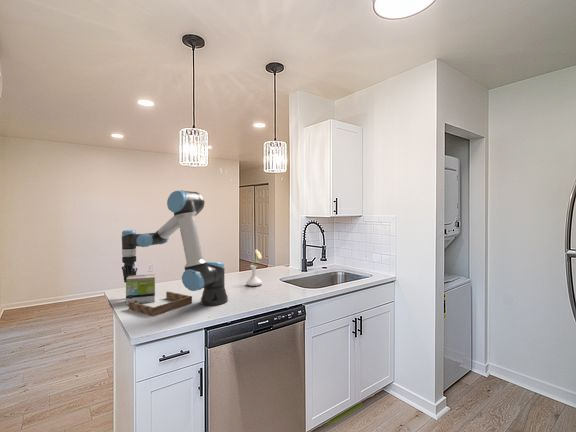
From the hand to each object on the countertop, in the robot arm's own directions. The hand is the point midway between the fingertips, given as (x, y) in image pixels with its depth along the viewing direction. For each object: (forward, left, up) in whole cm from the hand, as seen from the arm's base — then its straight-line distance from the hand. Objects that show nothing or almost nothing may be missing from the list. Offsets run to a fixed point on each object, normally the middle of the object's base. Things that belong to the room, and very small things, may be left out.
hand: (129, 294), depth 181 cm
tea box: (-12, 0, -3) cm, 12 cm away
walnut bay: (-30, 0, -2) cm, 30 cm away
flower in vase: (-46, -64, -3) cm, 79 cm away
